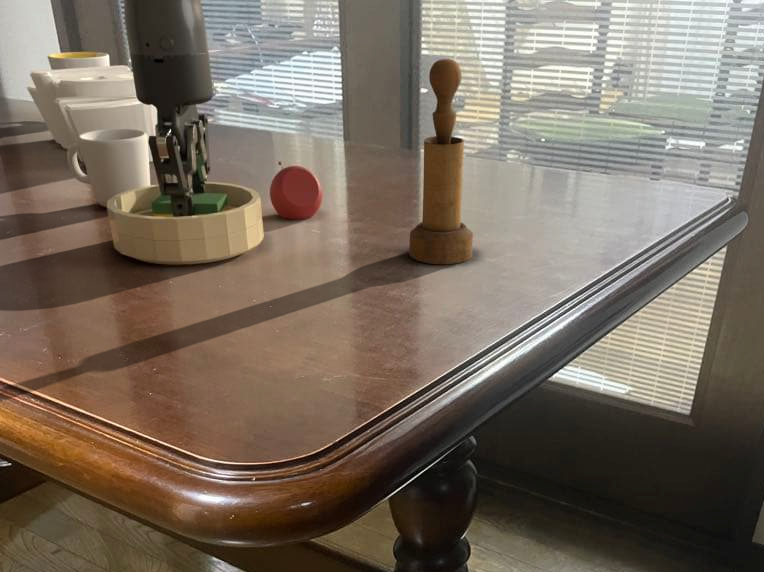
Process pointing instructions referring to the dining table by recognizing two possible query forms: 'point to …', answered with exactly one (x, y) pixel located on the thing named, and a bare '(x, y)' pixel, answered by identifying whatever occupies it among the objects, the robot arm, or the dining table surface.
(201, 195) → the sponge
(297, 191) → the fruit
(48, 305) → the dining table surface
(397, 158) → the dining table surface
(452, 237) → the mortar and pestle
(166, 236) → the bowl
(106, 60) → the mug
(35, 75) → the white wavy slab sculpture
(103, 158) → the cup
